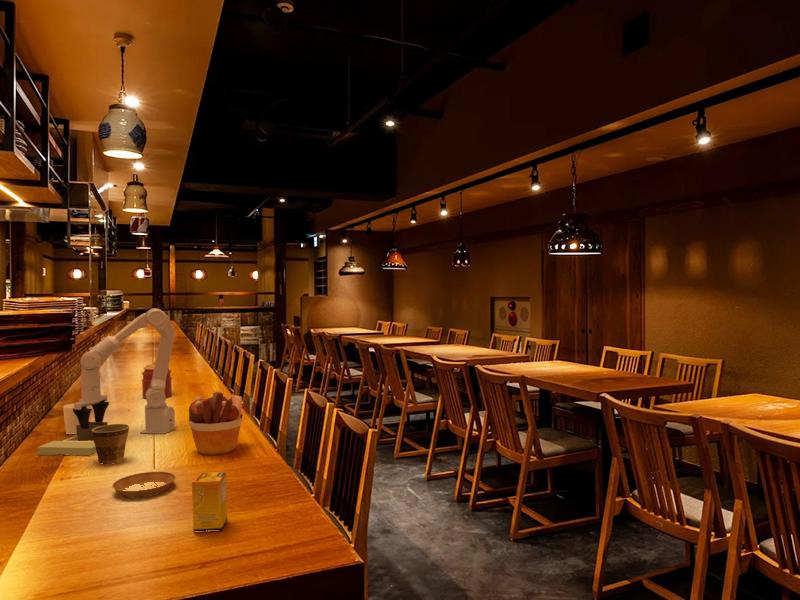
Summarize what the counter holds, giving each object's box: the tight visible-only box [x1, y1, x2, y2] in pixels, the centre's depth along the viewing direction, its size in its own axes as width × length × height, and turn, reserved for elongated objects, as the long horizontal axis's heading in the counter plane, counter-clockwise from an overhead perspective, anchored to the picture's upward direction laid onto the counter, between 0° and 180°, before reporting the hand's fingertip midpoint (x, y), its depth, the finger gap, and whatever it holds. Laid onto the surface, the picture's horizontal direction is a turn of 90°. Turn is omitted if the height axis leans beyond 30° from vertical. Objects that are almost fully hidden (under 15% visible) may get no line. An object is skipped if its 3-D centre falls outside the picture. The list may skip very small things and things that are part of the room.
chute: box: [76, 421, 109, 440], centre depth 194 cm, size 8×5×5 cm, turn 83°
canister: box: [141, 359, 173, 400], centre depth 267 cm, size 13×13×18 cm
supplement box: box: [191, 471, 228, 532], centre depth 122 cm, size 6×6×11 cm
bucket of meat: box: [188, 390, 243, 456], centre depth 178 cm, size 20×16×20 cm
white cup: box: [62, 402, 89, 435], centre depth 203 cm, size 8×8×10 cm
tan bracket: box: [37, 435, 97, 456], centre depth 182 cm, size 18×13×3 cm
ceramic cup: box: [90, 423, 130, 465], centre depth 169 cm, size 13×10×10 cm
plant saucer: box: [111, 471, 177, 498], centre depth 145 cm, size 15×15×3 cm
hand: (91, 425), depth 194 cm, fingers open, 7 cm apart
